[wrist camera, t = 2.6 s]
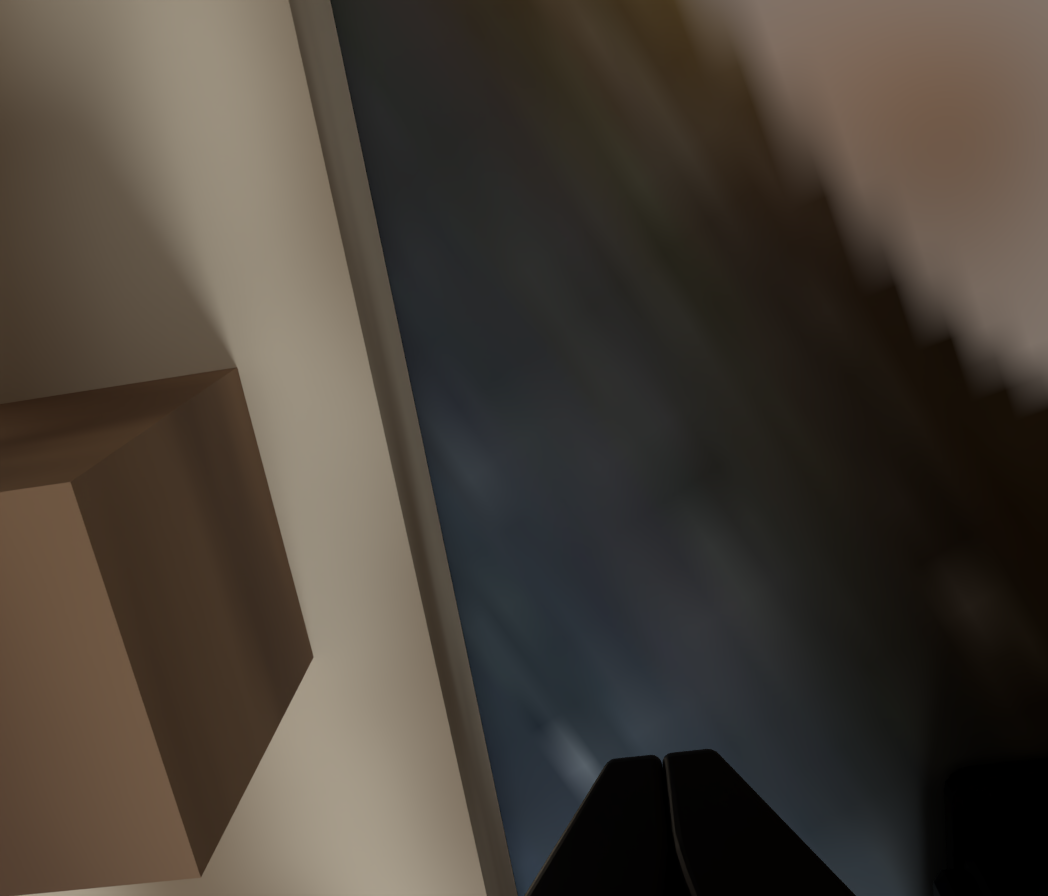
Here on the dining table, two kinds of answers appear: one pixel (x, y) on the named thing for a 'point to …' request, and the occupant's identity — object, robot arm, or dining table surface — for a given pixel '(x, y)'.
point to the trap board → (258, 399)
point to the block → (136, 630)
